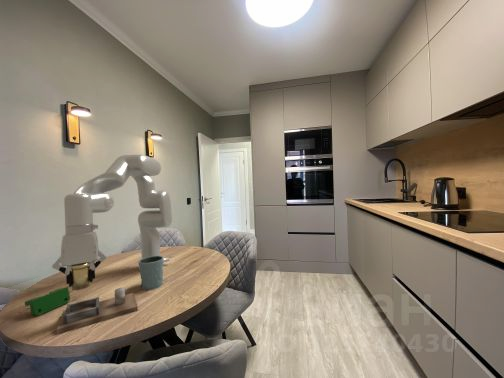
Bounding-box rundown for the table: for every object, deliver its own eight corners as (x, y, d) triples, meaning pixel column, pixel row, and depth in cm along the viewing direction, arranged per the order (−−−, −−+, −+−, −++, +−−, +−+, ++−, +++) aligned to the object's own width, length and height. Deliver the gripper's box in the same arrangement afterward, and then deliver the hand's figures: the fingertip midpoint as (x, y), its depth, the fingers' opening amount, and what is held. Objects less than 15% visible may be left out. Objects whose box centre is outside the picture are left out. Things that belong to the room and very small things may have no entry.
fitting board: (133, 296, 91) (133, 280, 91) (137, 310, 80) (136, 292, 80) (63, 314, 79) (62, 296, 79) (56, 334, 68) (56, 313, 68)
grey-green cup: (168, 282, 104) (167, 256, 104) (152, 292, 95) (151, 263, 95) (151, 280, 108) (150, 255, 107) (134, 289, 98) (133, 261, 98)
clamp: (57, 313, 88) (63, 288, 92) (66, 312, 86) (72, 287, 90) (18, 317, 78) (26, 289, 82) (27, 316, 76) (36, 287, 80)
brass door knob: (92, 282, 81) (91, 259, 81) (91, 287, 76) (90, 263, 76) (71, 286, 78) (70, 263, 78) (69, 292, 73) (68, 267, 73)
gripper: (108, 225, 85) (110, 274, 85) (48, 231, 75) (50, 286, 75) (109, 228, 78) (111, 280, 78) (43, 235, 69) (45, 294, 69)
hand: (81, 282), depth 77 cm, fingers closed on brass door knob, 5 cm apart
